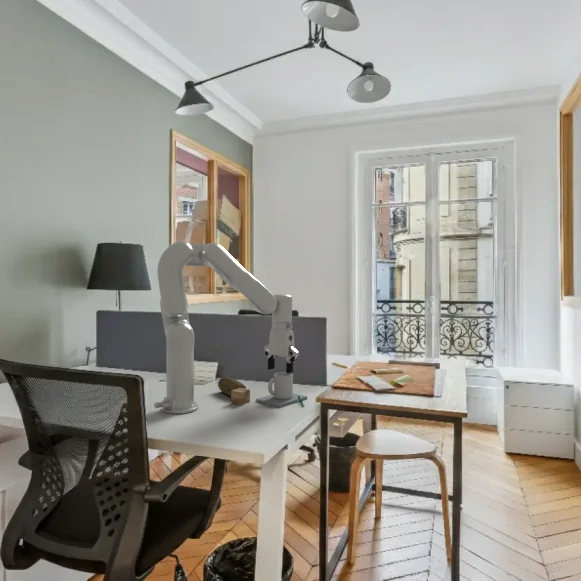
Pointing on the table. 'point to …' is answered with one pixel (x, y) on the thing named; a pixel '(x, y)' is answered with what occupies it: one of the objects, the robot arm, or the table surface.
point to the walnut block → (240, 396)
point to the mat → (278, 402)
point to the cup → (281, 386)
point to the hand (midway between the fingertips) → (280, 371)
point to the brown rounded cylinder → (229, 385)
